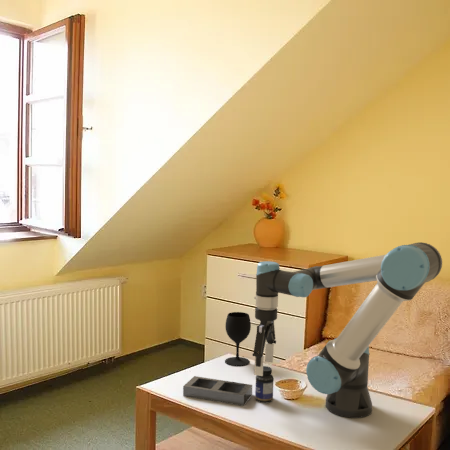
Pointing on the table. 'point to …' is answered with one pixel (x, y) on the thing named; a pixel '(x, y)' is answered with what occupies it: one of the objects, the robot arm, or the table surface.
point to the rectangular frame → (218, 390)
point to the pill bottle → (264, 386)
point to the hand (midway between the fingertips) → (263, 368)
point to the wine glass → (237, 335)
